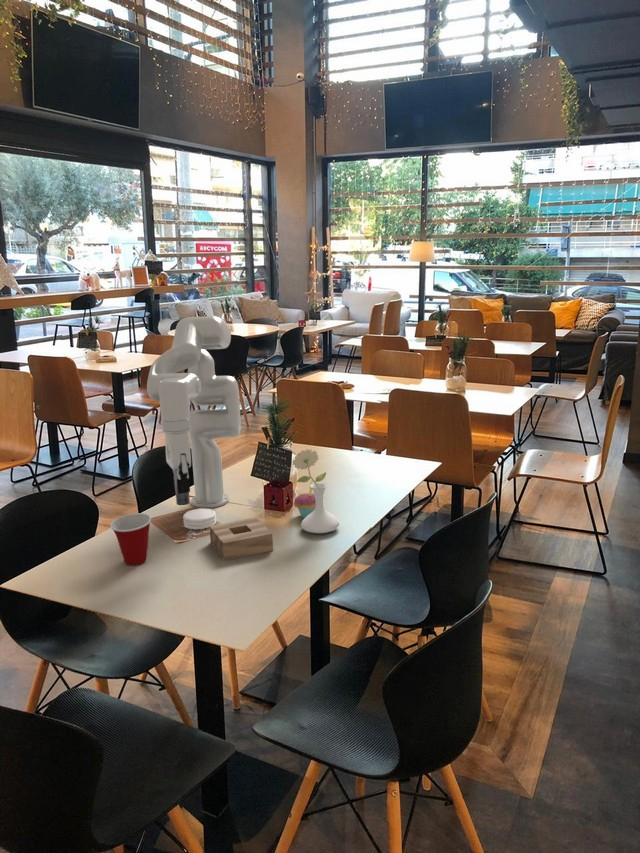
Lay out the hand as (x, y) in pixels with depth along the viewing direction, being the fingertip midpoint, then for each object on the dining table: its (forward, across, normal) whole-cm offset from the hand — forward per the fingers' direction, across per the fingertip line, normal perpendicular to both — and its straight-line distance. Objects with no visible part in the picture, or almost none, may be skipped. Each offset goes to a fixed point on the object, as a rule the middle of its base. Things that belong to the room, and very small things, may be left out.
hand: (182, 489), depth 190 cm
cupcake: (+19, -11, +41) cm, 46 cm away
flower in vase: (+19, +1, +39) cm, 43 cm away
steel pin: (+4, 0, 0) cm, 4 cm away
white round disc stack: (+19, -21, +9) cm, 30 cm away
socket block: (+19, +2, +15) cm, 24 cm away
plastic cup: (+19, -2, -14) cm, 24 cm away
